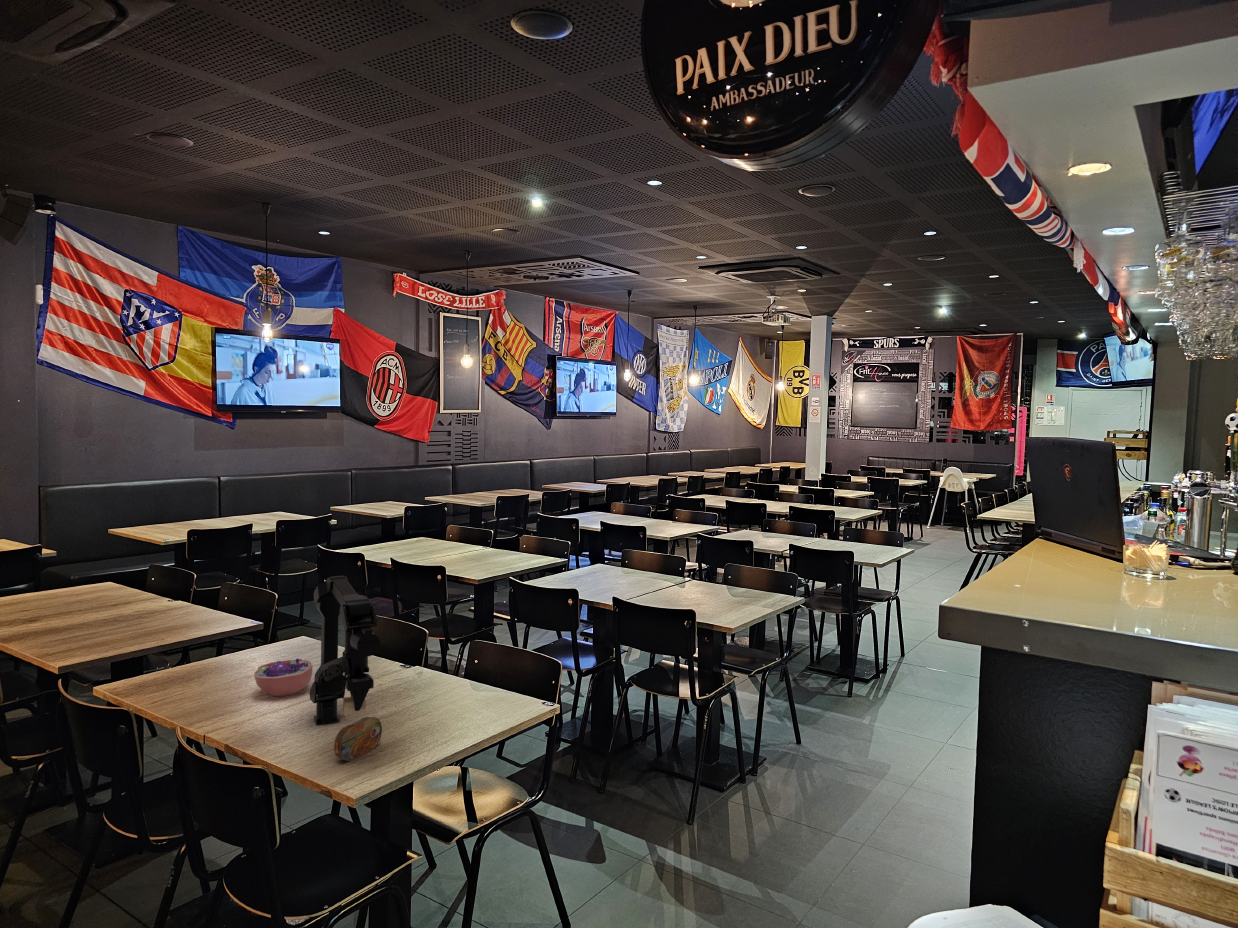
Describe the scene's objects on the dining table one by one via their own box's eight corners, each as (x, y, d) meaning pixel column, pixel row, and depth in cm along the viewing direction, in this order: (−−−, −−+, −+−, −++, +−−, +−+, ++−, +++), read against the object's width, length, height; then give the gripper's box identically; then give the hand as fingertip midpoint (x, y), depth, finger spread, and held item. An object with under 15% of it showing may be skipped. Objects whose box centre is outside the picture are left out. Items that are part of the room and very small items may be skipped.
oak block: (342, 709, 193) (342, 697, 192) (363, 707, 195) (363, 694, 195) (345, 716, 188) (345, 703, 188) (365, 713, 190) (365, 700, 190)
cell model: (324, 684, 246) (325, 650, 246) (292, 705, 226) (292, 668, 226) (276, 681, 248) (276, 648, 248) (240, 702, 228) (240, 666, 228)
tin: (341, 766, 185) (341, 732, 184) (331, 763, 186) (331, 730, 186) (382, 744, 198) (383, 713, 198) (373, 742, 200) (373, 711, 199)
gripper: (320, 641, 196) (319, 700, 196) (326, 660, 179) (325, 724, 180) (364, 637, 201) (363, 694, 201) (374, 655, 184) (373, 717, 185)
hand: (356, 707), depth 192 cm, fingers closed on oak block, 5 cm apart
